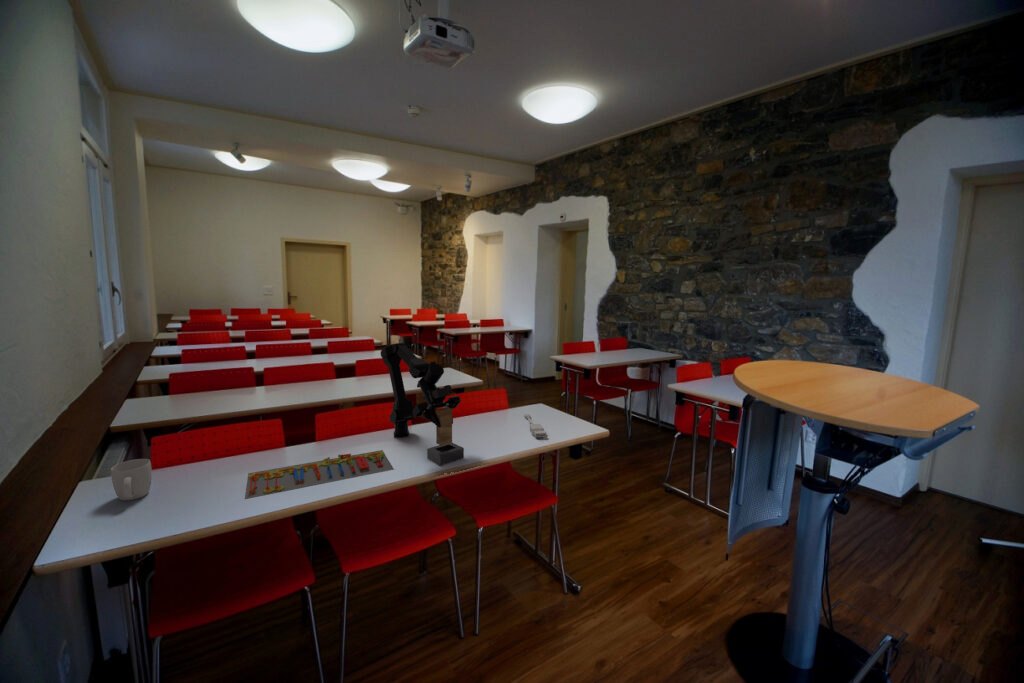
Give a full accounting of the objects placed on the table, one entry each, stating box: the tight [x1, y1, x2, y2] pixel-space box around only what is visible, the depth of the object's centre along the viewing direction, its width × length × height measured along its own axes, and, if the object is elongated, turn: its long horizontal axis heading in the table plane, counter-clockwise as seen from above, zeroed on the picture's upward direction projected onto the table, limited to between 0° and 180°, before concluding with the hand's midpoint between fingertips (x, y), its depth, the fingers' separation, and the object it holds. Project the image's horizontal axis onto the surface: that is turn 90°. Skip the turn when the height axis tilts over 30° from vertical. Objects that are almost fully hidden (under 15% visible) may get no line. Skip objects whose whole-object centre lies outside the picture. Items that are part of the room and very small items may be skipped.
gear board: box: [244, 449, 395, 500], centre depth 147 cm, size 45×2×19 cm
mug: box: [110, 458, 153, 502], centre depth 127 cm, size 13×9×10 cm
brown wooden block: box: [435, 407, 453, 445], centre depth 157 cm, size 3×5×13 cm, turn 133°
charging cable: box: [523, 413, 546, 438], centre depth 196 cm, size 5×32×3 cm, turn 9°
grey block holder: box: [426, 441, 465, 467], centre depth 159 cm, size 9×11×4 cm
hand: (446, 425), depth 156 cm, fingers closed on brown wooden block, 5 cm apart
